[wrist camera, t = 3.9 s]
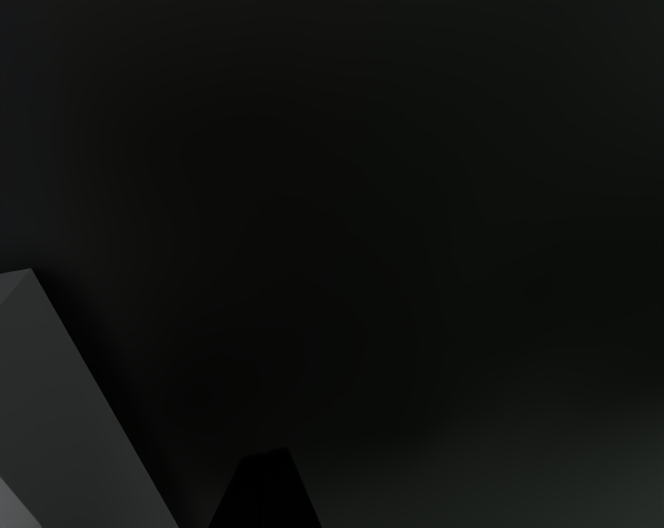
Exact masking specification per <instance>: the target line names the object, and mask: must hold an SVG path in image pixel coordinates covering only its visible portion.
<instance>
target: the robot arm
mask: <svg viewBox="0 0 664 528" xmlns="http://www.w3.org/2000/svg"><path fill="white" fill-rule="evenodd" d="M208 528H322V527H321V524H320V522H319V519H318V517H317V515H316V512H315V510H314V508H313V505H312V503H311V501H310V498H309V496H308V494H307V491H306V489H305V487H304V484H303V482H302V479H301V477H300V475H299V472H298V470H297V468H296V465H295V463H294V461H293V458H292V456H291V454H290V451H289V449H288V448H287V447H283V448H278V449H274V450H269V451H268V452H267V453H266V454H265V453H263V452H260V453H256V454H251V455H247V456H244V457H243V458H242V459H241V460H240V462H239V464H238V466H237V469H236V471H235V473H234V475H233V477H232V479H231V481H230V483H229V485H228V487H227V489H226V491H225V493H224V495H223V498H222V500H221V502H220V504H219V506H218V508H217V510H216V512H215V514H214V516H213V518H212V520H211V522H210V524H209V527H208Z"/></svg>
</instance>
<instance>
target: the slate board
mask: <svg viewBox="0 0 664 528" xmlns="http://www.w3.org/2000/svg"><path fill="white" fill-rule="evenodd" d="M0 528H179V527H178V525H177V524H176V522H175V520H174V518H173V516H172V515H171V513H170V511H169V509H168V508H167V506H166V504H165V502H164V501H163V499H162V497H161V495H160V494H159V492H158V490H157V488H156V487H155V485H154V483H153V481H152V480H151V478H150V476H149V474H148V473H147V471H146V469H145V467H144V466H143V464H142V462H141V460H140V459H139V457H138V455H137V453H136V452H135V450H134V448H133V446H132V444H131V443H130V441H129V439H128V437H127V436H126V434H125V432H124V430H123V429H122V427H121V425H120V423H119V422H118V420H117V418H116V416H115V415H114V413H113V411H112V409H111V408H110V406H109V404H108V402H107V401H106V399H105V397H104V395H103V394H102V392H101V390H100V388H99V387H98V385H97V383H96V381H95V380H94V378H93V376H92V374H91V372H90V371H89V369H88V367H87V365H86V364H85V362H84V360H83V358H82V357H81V355H80V353H79V351H78V350H77V348H76V346H75V344H74V343H73V341H72V339H71V337H70V336H69V334H68V332H67V330H66V329H65V327H64V325H63V323H62V322H61V320H60V318H59V316H58V315H57V313H56V311H55V309H54V308H53V306H52V304H51V302H50V300H49V299H48V297H47V295H46V293H45V292H44V290H43V288H42V286H41V285H40V283H39V281H38V279H37V278H36V276H35V274H34V272H33V271H32V269H31V268H30V269H24V270H19V271H13V272H7V273H2V274H0Z"/></svg>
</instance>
